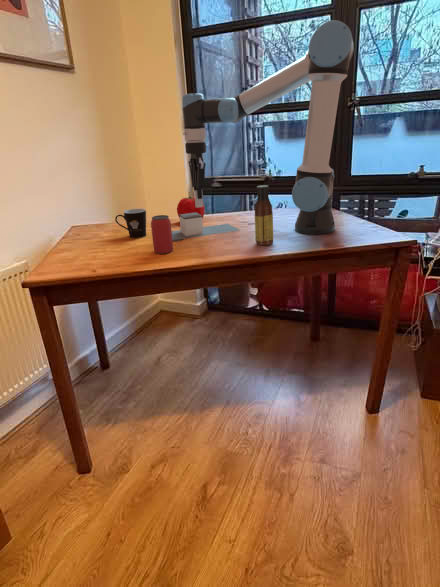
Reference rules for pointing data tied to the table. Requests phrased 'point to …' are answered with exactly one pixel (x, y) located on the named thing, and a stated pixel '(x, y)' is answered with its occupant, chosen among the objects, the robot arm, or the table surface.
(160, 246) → the beer can
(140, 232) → the coffee mug
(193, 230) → the cream block
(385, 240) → the table surface
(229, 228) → the rubber mat
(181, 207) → the tomato
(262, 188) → the sauce bottle
